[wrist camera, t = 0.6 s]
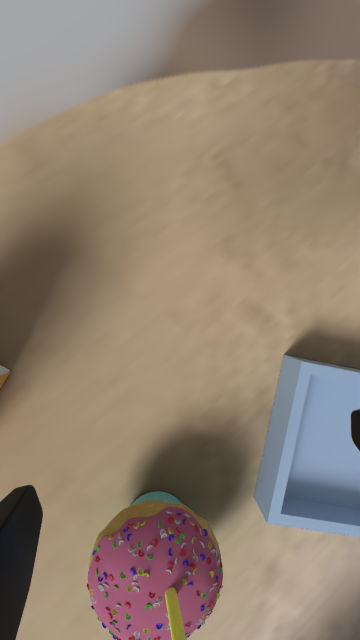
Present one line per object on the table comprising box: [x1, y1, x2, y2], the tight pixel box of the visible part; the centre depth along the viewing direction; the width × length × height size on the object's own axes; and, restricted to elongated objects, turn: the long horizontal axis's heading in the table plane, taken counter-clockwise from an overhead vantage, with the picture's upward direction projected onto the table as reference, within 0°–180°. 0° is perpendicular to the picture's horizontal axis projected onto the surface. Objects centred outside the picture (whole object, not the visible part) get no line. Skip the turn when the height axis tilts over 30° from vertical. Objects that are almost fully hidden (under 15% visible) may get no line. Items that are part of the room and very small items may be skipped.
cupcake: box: [87, 491, 223, 640], centre depth 18 cm, size 9×8×12 cm
